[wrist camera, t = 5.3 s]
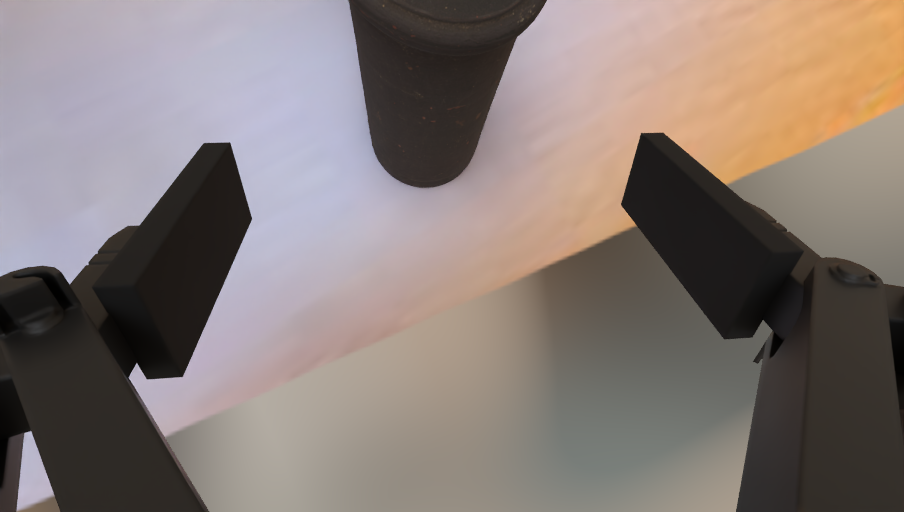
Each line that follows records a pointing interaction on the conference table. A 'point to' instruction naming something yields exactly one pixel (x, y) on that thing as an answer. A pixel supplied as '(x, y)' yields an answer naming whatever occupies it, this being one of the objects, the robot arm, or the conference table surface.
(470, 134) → the container
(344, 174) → the conference table surface
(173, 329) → the robot arm
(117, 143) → the conference table surface
